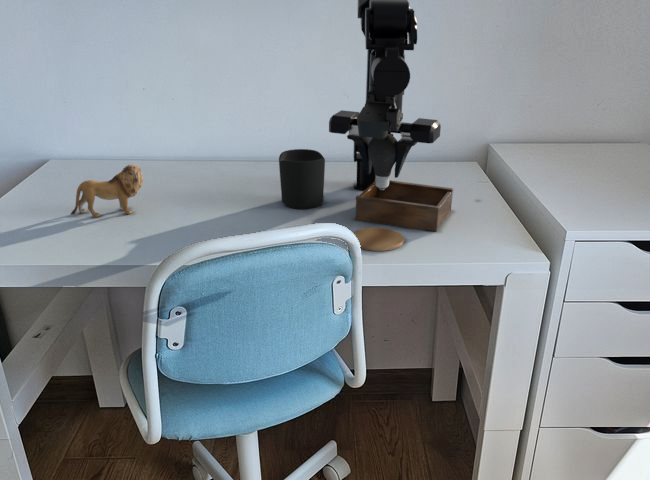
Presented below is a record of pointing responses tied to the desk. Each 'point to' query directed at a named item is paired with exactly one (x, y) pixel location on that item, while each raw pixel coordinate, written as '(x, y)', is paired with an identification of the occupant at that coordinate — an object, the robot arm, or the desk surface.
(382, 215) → the wooden cubby shelf
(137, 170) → the lion figurine
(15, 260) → the desk surface
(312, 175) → the pen holder
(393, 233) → the coaster
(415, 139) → the robot arm
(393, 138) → the light bulb
